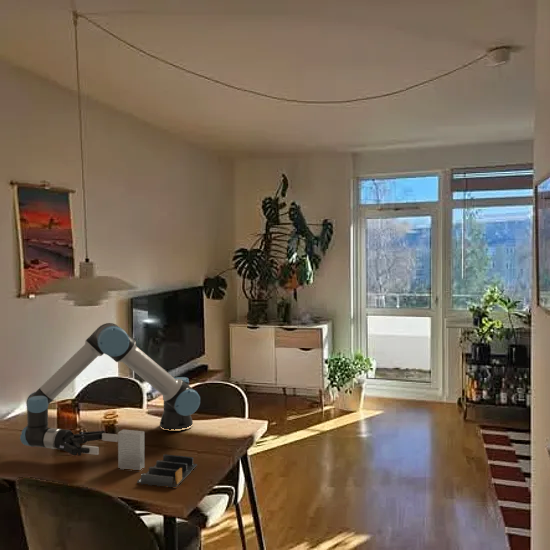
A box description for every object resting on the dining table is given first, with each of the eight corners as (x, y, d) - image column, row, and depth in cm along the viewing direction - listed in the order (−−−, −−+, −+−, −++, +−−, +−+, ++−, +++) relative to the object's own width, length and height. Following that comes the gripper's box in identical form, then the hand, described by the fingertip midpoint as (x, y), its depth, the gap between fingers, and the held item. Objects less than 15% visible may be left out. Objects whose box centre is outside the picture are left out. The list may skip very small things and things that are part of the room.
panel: (123, 465, 202) (122, 429, 201) (144, 467, 200) (144, 431, 199) (118, 468, 199) (118, 432, 198) (140, 471, 196) (139, 434, 196)
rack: (160, 462, 205) (160, 450, 204) (196, 466, 201) (197, 453, 201) (137, 483, 186) (137, 469, 186) (176, 488, 183) (176, 474, 182)
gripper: (78, 437, 218) (124, 442, 213) (38, 460, 194) (89, 466, 189) (78, 419, 218) (124, 424, 213) (37, 440, 194) (89, 446, 189)
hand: (108, 444), depth 201 cm, fingers open, 13 cm apart
